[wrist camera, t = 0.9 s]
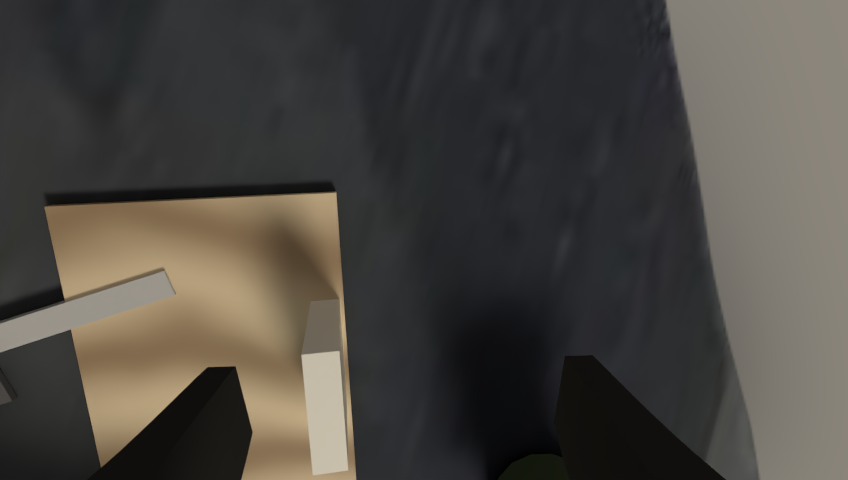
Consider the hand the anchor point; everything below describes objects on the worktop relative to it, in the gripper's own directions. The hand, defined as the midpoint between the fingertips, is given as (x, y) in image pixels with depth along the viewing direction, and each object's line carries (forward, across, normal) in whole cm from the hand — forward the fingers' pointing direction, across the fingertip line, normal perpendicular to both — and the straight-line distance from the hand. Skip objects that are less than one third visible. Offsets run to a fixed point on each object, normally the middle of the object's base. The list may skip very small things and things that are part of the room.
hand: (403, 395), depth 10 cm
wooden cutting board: (+13, +11, +10) cm, 20 cm away
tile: (+14, +5, +10) cm, 18 cm away
